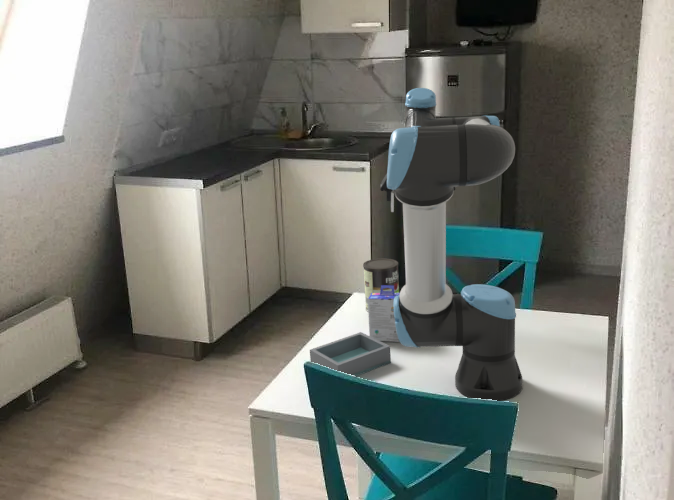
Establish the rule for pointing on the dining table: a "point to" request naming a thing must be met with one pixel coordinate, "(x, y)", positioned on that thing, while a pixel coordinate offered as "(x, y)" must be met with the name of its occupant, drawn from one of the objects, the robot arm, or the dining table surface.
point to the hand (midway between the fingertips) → (416, 209)
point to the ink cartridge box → (382, 315)
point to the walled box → (352, 354)
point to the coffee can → (380, 276)
